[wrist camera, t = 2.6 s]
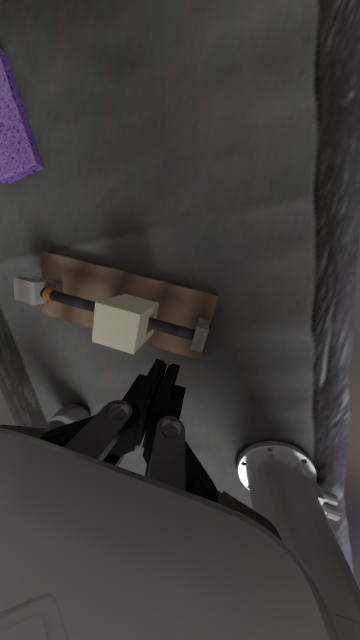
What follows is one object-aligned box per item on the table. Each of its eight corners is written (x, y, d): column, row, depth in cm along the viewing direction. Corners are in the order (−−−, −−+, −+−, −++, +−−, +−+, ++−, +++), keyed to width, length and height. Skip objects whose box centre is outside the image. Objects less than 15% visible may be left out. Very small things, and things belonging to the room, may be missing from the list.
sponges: (11, 58, 23) (-6, 40, 21) (47, 171, 26) (35, 164, 24) (-29, 82, 24) (-48, 67, 22) (10, 186, 27) (-4, 180, 25)
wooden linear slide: (218, 295, 25) (219, 303, 19) (200, 355, 28) (196, 379, 22) (50, 251, 28) (5, 246, 22) (50, 311, 31) (10, 321, 25)
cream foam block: (159, 302, 24) (140, 314, 18) (153, 333, 26) (133, 354, 19) (125, 293, 25) (95, 302, 19) (121, 324, 26) (91, 341, 20)
